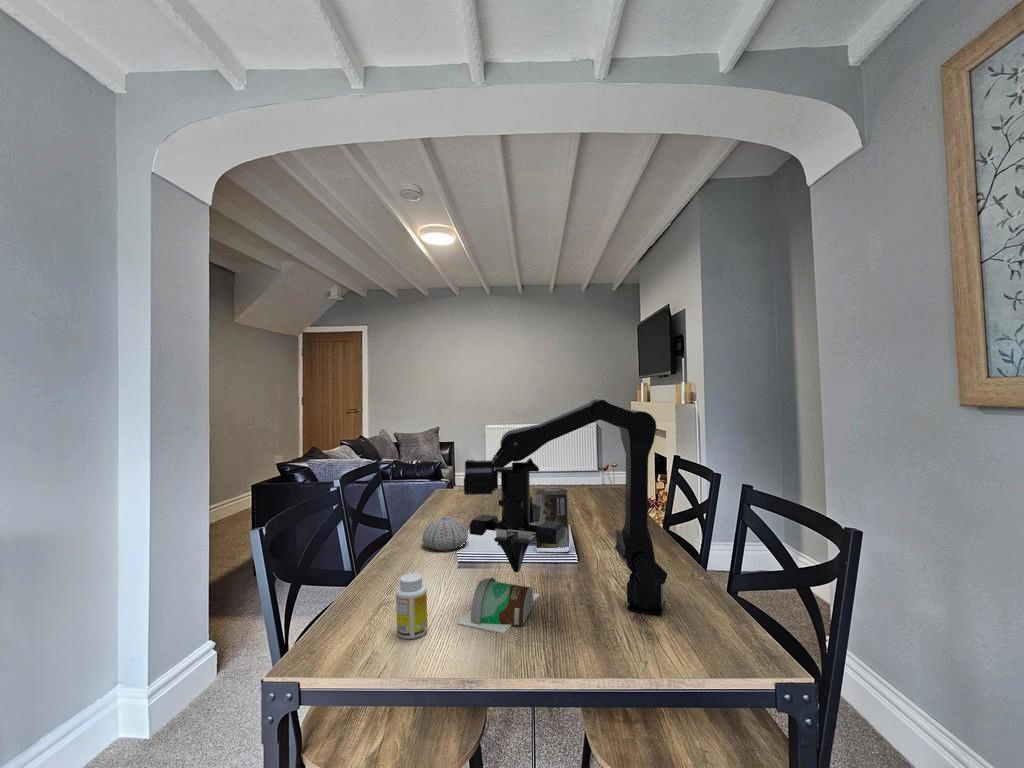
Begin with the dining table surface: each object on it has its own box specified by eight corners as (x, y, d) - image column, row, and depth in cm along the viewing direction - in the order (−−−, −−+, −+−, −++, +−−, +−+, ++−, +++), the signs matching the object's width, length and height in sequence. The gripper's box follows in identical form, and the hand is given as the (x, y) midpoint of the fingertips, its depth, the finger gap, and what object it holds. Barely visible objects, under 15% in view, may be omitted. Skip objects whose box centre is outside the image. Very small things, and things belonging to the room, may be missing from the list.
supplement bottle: (428, 624, 94) (427, 570, 94) (426, 639, 89) (425, 582, 89) (398, 626, 94) (397, 572, 94) (394, 641, 88) (393, 584, 88)
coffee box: (569, 546, 139) (568, 489, 140) (569, 553, 133) (567, 493, 133) (537, 545, 141) (536, 488, 141) (535, 552, 134) (534, 493, 134)
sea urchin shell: (452, 536, 152) (452, 510, 152) (477, 546, 141) (477, 518, 141) (413, 545, 143) (413, 517, 143) (437, 557, 133) (436, 527, 133)
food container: (520, 595, 91) (469, 591, 94) (520, 629, 91) (469, 623, 94) (534, 571, 103) (488, 568, 105) (534, 601, 103) (489, 597, 105)
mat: (540, 595, 106) (540, 594, 106) (504, 634, 90) (504, 632, 90) (498, 588, 110) (498, 587, 110) (456, 624, 94) (456, 622, 94)
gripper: (572, 489, 102) (573, 564, 102) (492, 483, 110) (493, 553, 110) (554, 500, 92) (555, 584, 92) (467, 493, 100) (468, 570, 100)
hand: (516, 571), depth 99 cm, fingers closed
